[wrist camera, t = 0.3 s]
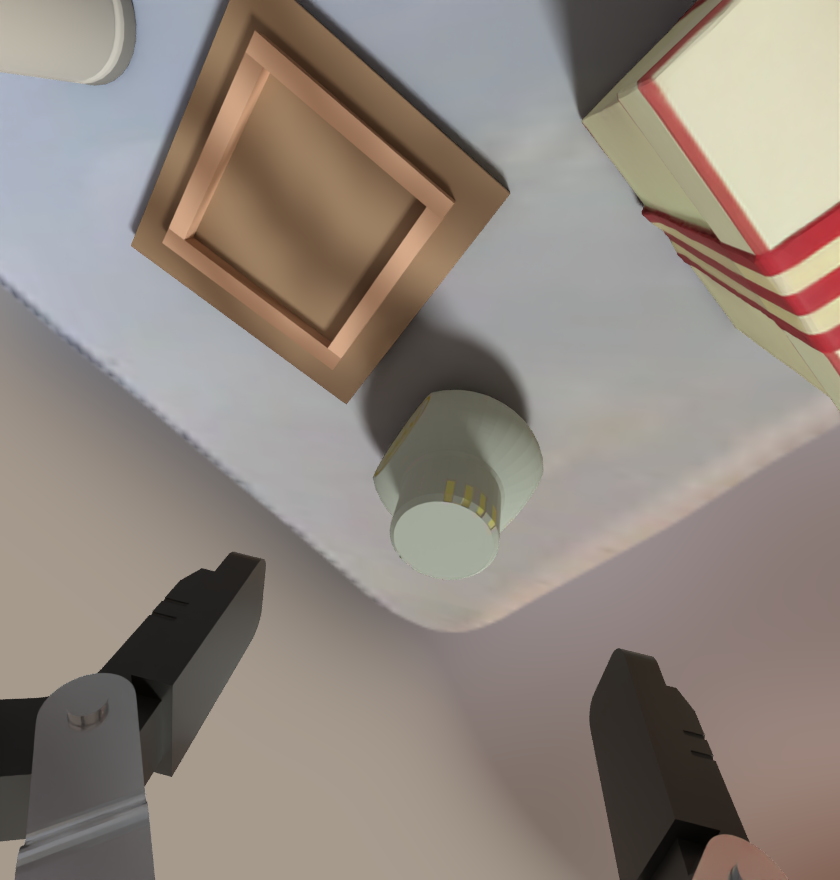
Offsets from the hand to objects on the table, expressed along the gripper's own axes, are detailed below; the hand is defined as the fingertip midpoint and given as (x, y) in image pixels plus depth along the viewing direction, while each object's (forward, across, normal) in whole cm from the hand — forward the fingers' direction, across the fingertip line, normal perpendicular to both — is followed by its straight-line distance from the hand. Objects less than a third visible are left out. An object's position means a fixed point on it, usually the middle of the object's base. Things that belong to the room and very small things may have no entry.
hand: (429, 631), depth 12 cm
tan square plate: (+22, +11, -7) cm, 26 cm away
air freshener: (+24, -1, +6) cm, 25 cm away
